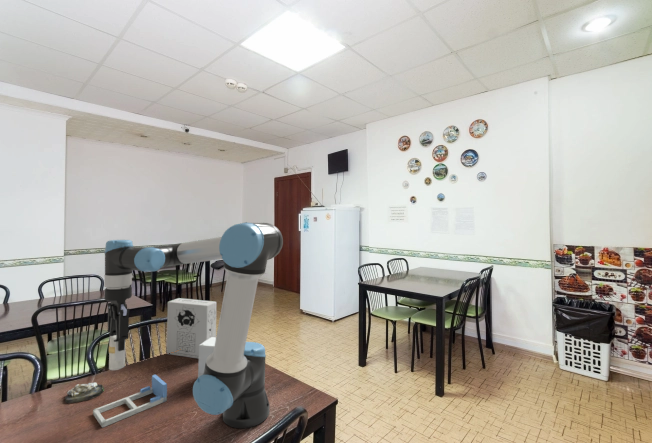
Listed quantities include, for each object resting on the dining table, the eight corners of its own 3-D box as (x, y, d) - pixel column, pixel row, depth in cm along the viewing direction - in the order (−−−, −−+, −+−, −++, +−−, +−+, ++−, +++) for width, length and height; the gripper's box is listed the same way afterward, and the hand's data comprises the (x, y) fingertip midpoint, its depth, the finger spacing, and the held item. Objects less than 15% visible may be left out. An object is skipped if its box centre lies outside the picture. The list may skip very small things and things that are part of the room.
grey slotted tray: (155, 390, 116) (155, 374, 116) (166, 400, 110) (167, 383, 110) (93, 414, 102) (93, 395, 102) (102, 427, 95) (102, 408, 95)
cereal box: (215, 353, 149) (216, 301, 149) (206, 360, 142) (207, 305, 142) (177, 347, 155) (178, 297, 155) (166, 354, 147) (167, 301, 147)
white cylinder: (127, 366, 102) (128, 336, 102) (111, 371, 99) (111, 340, 99) (122, 362, 105) (123, 333, 105) (106, 367, 102) (107, 336, 102)
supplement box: (217, 385, 121) (218, 347, 120) (197, 382, 122) (198, 344, 122) (229, 374, 129) (230, 338, 129) (210, 371, 131) (211, 336, 131)
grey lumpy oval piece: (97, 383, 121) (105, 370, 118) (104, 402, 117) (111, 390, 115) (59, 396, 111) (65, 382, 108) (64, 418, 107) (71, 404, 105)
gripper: (141, 289, 99) (140, 361, 99) (122, 281, 111) (121, 346, 111) (114, 293, 94) (112, 370, 94) (96, 284, 105) (95, 353, 105)
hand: (117, 357), depth 102 cm, fingers closed on white cylinder, 5 cm apart
